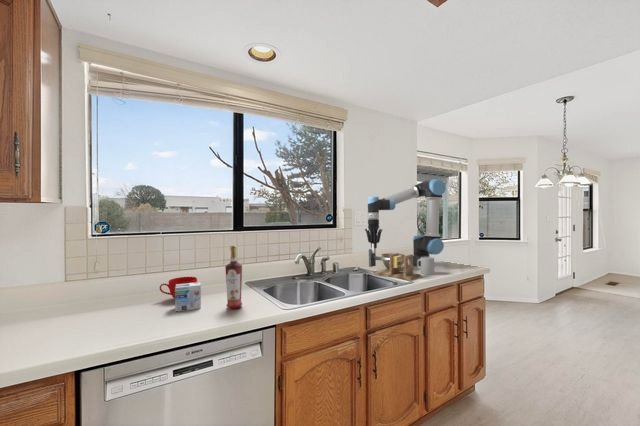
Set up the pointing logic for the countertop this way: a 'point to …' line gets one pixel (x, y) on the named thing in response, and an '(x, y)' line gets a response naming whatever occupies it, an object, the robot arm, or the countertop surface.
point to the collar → (396, 261)
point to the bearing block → (395, 272)
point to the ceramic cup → (177, 281)
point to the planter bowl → (388, 261)
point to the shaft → (373, 259)
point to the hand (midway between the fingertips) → (373, 252)
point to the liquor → (233, 280)
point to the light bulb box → (187, 296)
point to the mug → (426, 265)
